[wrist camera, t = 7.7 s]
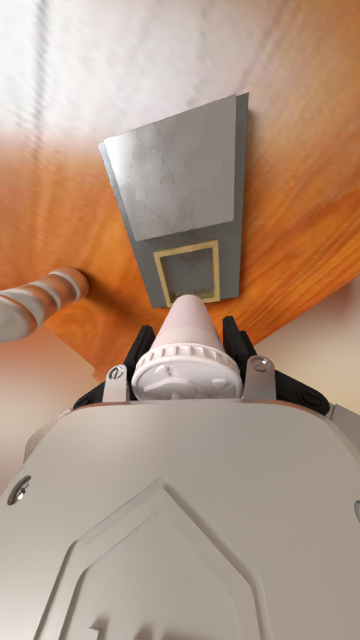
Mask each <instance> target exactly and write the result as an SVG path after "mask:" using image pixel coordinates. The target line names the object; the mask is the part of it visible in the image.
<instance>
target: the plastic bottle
mask: <svg viewBox="0 0 360 640" xmlns="http://www.w3.org/2000/svg"><path fill="white" fill-rule="evenodd" d="M88 291H89V284H88V281H87V279H86V277H85V276H84V275H83V274H82V273H81V272H79V271H78V270H76V269H74V268H71V267H61V268H57V269H55V270H53V271H51V272H50V273H48V274H47V275H46V276H44V277H42V278H40V279H38V280H36V281H34V282H31V283H28V284H25V285H22V286H19V287H16V288H12V289H7V290H3V291H0V343H3V342H11V341H17V340H21V339H23V338H26V337H28V336H30V335H31V334H32V333H34V332H35V331H36V330H37V329H38V328H39V327H40V326H41V325H42V324H43V323H44V322H45V321H46V320H47V319H48V318H50V317H51V316H52V315H53V314H55V313H56V312H57V311H59V310H60V309H62V308H63V307H65V306H67V305H69V304H71V303H73V302H76V301H79V300H81V299H82V298H84V297H85V296H86V294H87V293H88Z"/></svg>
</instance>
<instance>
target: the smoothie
mask: <svg viewBox="0 0 360 640" xmlns="http://www.w3.org/2000/svg"><path fill="white" fill-rule="evenodd" d="M131 386H132V390H133V393H134V394H135V396H136V398H137V399H138V400H139V401H146V400H185V399H241V398H242V396H243V393H244V387H243V383H242V380H241V377H240V370H239V368H238V366H237V364H236V362H235V361H234V360H233V359H232V358H231V357H229V356H228V355H227V354H226V352H225V349H224V347H223V345H222V343H221V341H220V338H219V336H218V334H217V332H216V329H215V327H214V325H213V323H212V320H211V318H210V316H209V314H208V311H207V309H206V307H205V305H204V302H203V301H202V300H201V299H200V298H199V297H197V296H195V295H183V296H181V297H179V298H178V299H177V300H176V301H175V302H174V304H173V306H172V308H171V310H170V312H169V314H168V316H167V317H166V319H165V321H164V323H163V325H162V327H161V329H160V331H159V333H158V335H157V337H156V339H155V341H154V342H153V344H152V346H151V348H150V350H149V351H148V352H147V353H146V354H144V355H143V356H142V357H141V358H140V360H139V361H138V363H137V364H136V370H135V373H134V375H133V378H132V382H131Z"/></svg>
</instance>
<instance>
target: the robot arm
mask: <svg viewBox="0 0 360 640" xmlns="http://www.w3.org/2000/svg"><path fill="white" fill-rule="evenodd" d="M155 339H156V337H155V335H154V332H153V329H152V327H150V326H149V325H146V326H142V328H141V330H140V332H139V334H138V336H137V338H136V340H135V342H134V343H133V345H132V347H131V349H130V351H129V353H128V355H127V357H126V359H125V361H124V363H123V365H117V366H115V367H113V368H112V369H111V370H110V371H109V372H108V374H107V376H106V381H104V382H103V383H101V384H100V385H98V386H97V387H95V388H94V389H93V390H91V391H90V392H88V393H87V394H85V395H84V396H82V397H81V398H80V399H79V400H78V401H77V402H76V403H75V405H74V407H73V409H71V408H69V409H68V410H67V411H65V412H64V413H62V414H61V415H59V416H58V417H56V418H55V419H53V420H52V421H51V422H49V423H48V424H46V425H45V426H43V427H42V428H40V429H39V430H38V431H36V432H35V433H34V434H33V435H32V436H31V438H30V439H29V440H28V442H27V444H26V448H25V454H24V462H23V465H22V466H21V468H20V469H19V471H18V472H17V474H16V475H15V477H14V478H13V479H12V481H11V483H10V484H9V486H8V487H7V488H6V490H5V491H4V493H3V494H2V496H1V497H0V640H360V415H358V414H356V413H354V412H352V411H350V410H347V409H346V408H344V407H342V406H340V405H338V404H335V405H333V404H331V403H329V402H328V400H327V399H326V398H325V397H324V396H323V395H322V394H321V393H320V392H318V391H317V390H315V389H313V388H311V387H309V386H307V385H305V384H303V383H301V382H299V381H297V380H295V379H293V378H291V377H289V376H287V375H285V374H283V373H281V372H279V371H277V370H275V369H274V365H273V363H272V362H271V361H270V360H269V359H268V358H266V357H264V356H258V355H257V353H256V351H255V349H254V347H253V345H252V343H251V341H250V339H249V337H248V335H247V333H246V332H245V331H239V330H238V327H237V325H236V323H235V321H234V318H233V316H226V317H225V318H224V319H223V346H224V349H225V352H226V354H227V355H228V356H229V357H231V358H232V359H233V360H234V361H235V362H236V364H237V366H238V368H239V370H240V377H241V380H242V383H243V387H244V396H243V399H185V400H146V401H139V400H138V399H137V398H136V396H135V394H134V393H133V390H132V386H131V382H132V378H133V375H134V373H135V370H136V364H137V363H138V361H139V360H140V358H141V357H142V356H143V355H144V354H146V353H147V352H148V351H149V350H150V348H151V346H152V344H153V342H154V341H155Z"/></svg>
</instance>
